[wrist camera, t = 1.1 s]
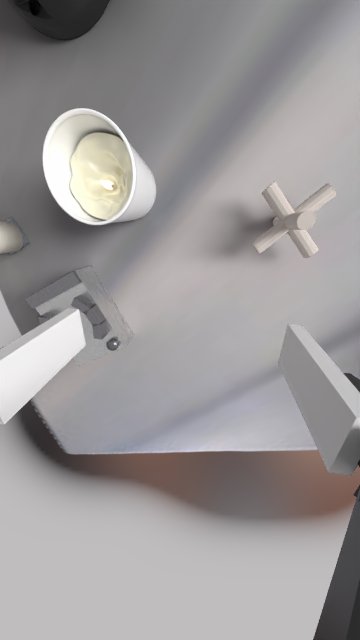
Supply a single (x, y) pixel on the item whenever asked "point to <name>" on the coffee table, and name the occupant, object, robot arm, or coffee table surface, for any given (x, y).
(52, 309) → the cradle fixture plate
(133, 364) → the coffee table surface
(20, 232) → the cream flashlight
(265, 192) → the pipe connector
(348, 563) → the robot arm
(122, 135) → the candle holder
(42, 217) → the coffee table surface
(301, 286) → the coffee table surface
